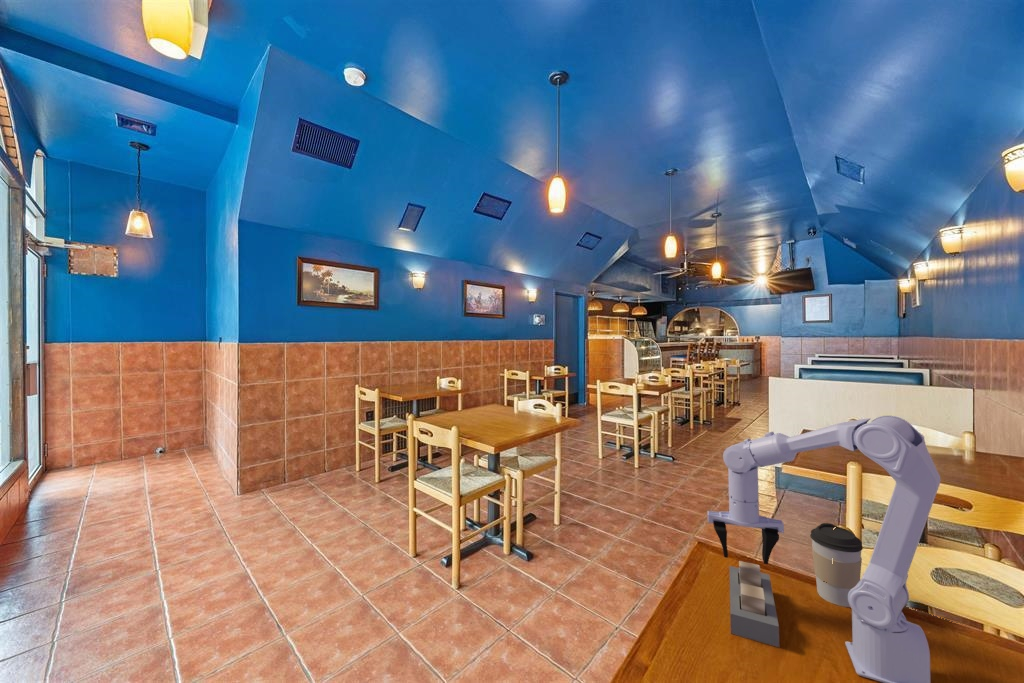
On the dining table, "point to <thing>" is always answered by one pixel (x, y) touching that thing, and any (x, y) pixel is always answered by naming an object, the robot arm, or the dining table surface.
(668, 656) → the dining table surface
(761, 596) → the near peg
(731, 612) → the grey peg hole board
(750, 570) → the far peg
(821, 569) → the coffee cup
